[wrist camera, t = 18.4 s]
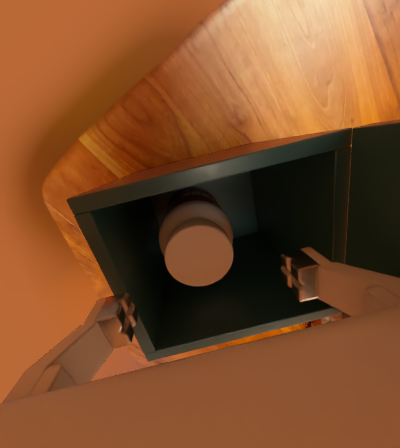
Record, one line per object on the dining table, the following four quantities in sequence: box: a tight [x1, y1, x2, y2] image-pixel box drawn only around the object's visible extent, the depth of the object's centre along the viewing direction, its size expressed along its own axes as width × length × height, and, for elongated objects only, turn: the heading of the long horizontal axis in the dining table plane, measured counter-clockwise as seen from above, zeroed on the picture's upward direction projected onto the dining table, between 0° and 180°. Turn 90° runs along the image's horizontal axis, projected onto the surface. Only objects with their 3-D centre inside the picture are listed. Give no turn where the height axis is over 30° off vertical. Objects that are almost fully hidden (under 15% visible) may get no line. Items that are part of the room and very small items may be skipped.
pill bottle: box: [159, 187, 233, 286], centre depth 18 cm, size 6×6×11 cm
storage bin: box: [67, 128, 352, 361], centre depth 17 cm, size 14×12×14 cm
